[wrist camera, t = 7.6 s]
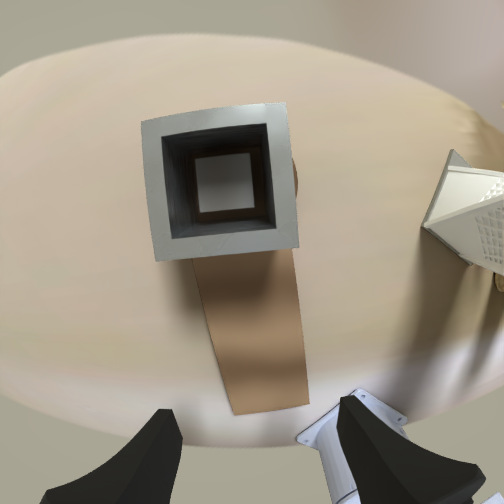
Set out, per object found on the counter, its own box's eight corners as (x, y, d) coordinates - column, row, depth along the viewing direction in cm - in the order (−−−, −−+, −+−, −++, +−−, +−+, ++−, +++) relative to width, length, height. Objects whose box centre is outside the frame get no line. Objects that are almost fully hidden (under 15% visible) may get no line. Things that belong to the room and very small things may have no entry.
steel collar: (272, 132, 15) (285, 102, 9) (280, 227, 17) (298, 247, 11) (176, 143, 15) (141, 121, 10) (186, 236, 17) (155, 261, 11)
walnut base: (318, 389, 21) (330, 426, 17) (223, 404, 21) (219, 443, 17) (281, 114, 16) (292, 92, 12) (159, 138, 17) (134, 124, 12)
